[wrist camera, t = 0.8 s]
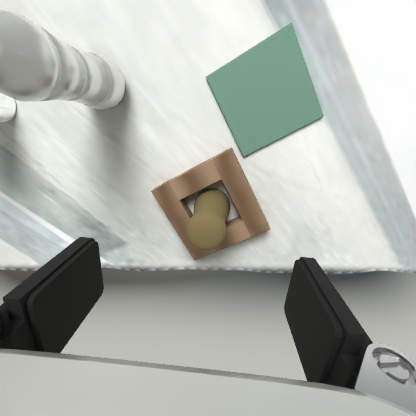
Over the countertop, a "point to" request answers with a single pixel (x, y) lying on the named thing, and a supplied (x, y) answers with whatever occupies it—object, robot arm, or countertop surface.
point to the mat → (266, 91)
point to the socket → (202, 177)
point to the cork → (208, 219)
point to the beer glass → (7, 108)
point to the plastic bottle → (53, 67)
